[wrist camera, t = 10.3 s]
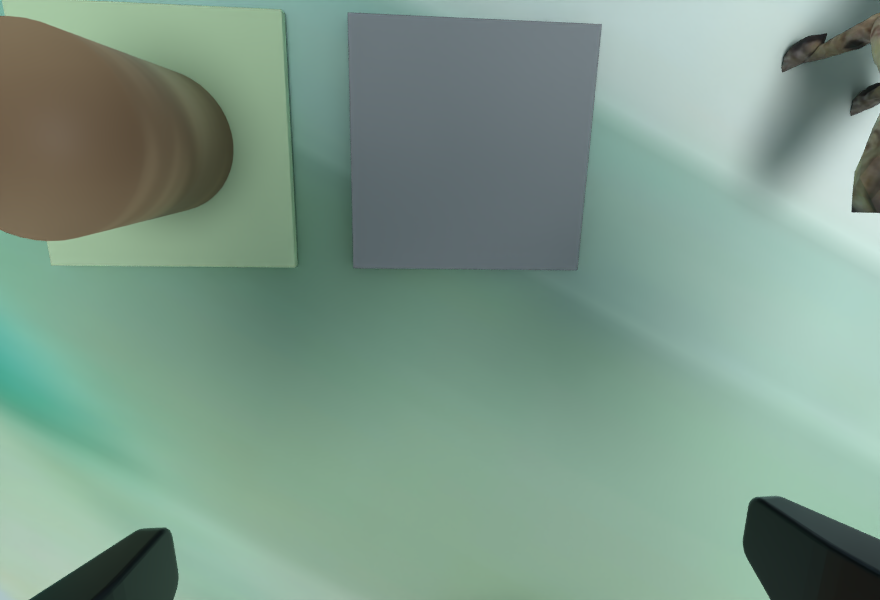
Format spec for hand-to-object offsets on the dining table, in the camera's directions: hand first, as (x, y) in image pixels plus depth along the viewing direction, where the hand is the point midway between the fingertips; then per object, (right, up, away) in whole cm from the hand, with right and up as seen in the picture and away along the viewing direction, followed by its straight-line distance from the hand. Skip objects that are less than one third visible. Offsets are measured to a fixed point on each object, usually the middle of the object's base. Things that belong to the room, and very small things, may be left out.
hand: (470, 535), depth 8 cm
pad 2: (+1, +9, +10) cm, 13 cm away
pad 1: (-9, +9, +9) cm, 16 cm away
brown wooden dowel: (-9, +9, +8) cm, 15 cm away
